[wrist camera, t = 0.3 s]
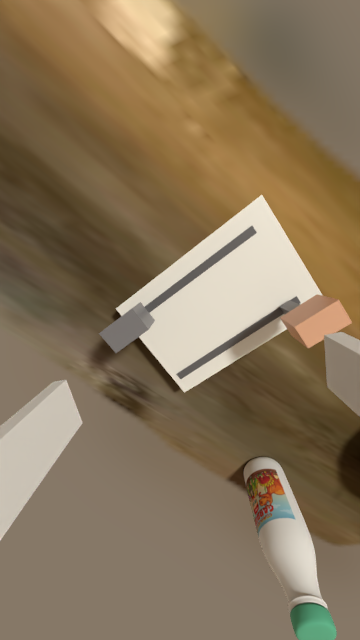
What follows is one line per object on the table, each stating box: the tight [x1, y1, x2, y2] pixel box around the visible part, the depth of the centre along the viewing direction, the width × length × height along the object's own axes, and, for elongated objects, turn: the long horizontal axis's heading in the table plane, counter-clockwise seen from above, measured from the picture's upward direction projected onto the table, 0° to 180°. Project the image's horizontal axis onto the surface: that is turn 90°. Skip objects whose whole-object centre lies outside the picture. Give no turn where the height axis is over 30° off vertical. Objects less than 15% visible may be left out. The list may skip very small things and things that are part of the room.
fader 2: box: [279, 294, 352, 348], centre depth 27 cm, size 3×5×9 cm, turn 127°
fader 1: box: [99, 302, 155, 353], centre depth 29 cm, size 3×5×9 cm, turn 127°
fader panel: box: [116, 195, 323, 392], centre depth 34 cm, size 18×26×3 cm
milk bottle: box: [244, 457, 336, 640], centre depth 34 cm, size 8×8×20 cm
